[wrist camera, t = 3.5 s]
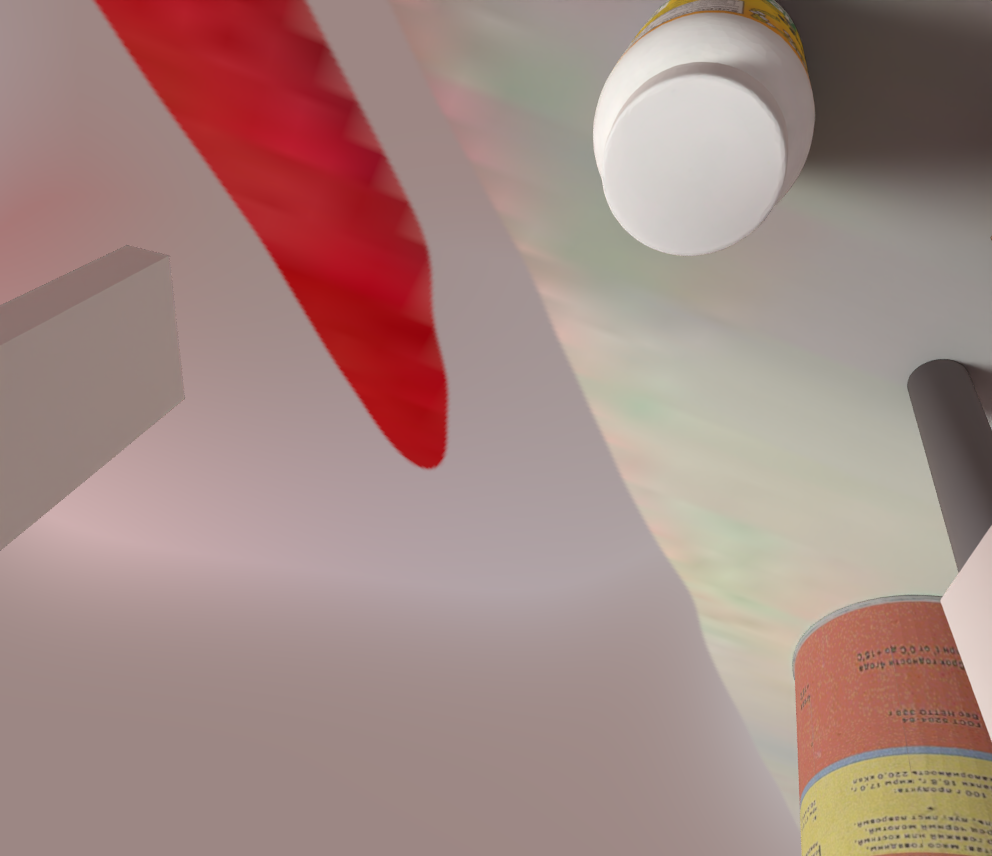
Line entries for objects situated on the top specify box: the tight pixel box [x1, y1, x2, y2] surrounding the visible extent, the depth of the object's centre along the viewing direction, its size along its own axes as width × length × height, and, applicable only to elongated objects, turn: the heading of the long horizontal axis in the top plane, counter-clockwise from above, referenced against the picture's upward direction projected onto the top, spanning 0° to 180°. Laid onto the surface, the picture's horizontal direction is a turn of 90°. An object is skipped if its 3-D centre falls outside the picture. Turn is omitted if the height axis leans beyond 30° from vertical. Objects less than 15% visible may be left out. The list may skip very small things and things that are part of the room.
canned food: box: [793, 595, 992, 856], centre depth 32 cm, size 11×11×12 cm
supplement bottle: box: [593, 0, 815, 256], centre depth 20 cm, size 5×5×10 cm
